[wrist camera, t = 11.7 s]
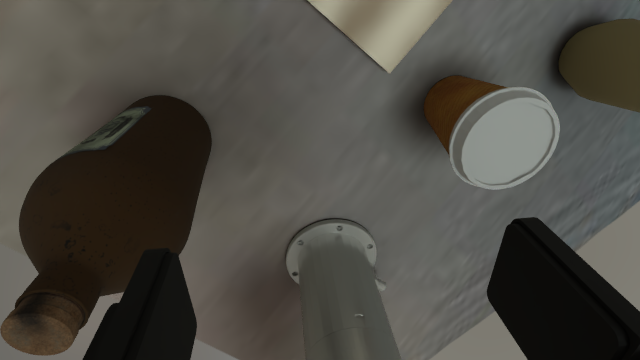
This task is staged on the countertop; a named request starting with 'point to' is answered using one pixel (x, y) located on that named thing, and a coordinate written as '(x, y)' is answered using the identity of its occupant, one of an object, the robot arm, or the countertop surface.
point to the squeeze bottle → (605, 63)
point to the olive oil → (106, 216)
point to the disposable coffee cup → (492, 130)
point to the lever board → (383, 24)
